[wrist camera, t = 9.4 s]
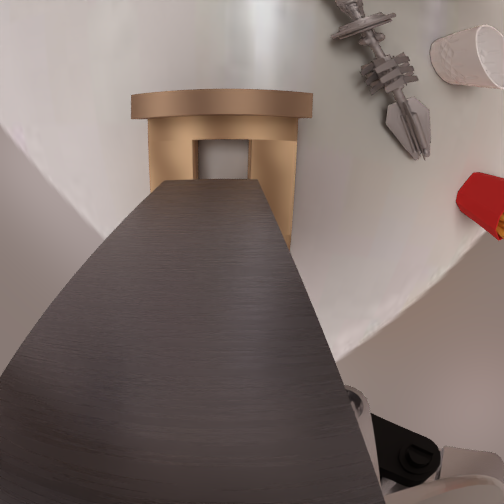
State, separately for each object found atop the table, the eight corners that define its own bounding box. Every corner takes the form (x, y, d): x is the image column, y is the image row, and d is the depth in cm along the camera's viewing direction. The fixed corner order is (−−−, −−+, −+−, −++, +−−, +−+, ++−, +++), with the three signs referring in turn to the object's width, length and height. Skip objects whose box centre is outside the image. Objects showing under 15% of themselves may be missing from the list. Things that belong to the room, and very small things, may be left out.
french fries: (459, 220, 37) (517, 257, 25) (449, 200, 35) (511, 235, 24) (490, 181, 34) (550, 207, 23) (481, 160, 33) (544, 183, 21)
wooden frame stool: (289, 101, 29) (312, 93, 20) (280, 252, 37) (296, 296, 28) (160, 101, 28) (131, 94, 19) (166, 252, 36) (147, 297, 27)
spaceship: (316, -105, 11) (263, -108, 10) (459, 145, 28) (435, 179, 27) (279, -75, 18) (229, -69, 17) (411, 142, 35) (382, 172, 33)
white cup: (436, 91, 29) (488, 91, 20) (418, 35, 26) (466, 22, 17) (472, 85, 28) (521, 88, 19) (456, 35, 25) (504, 27, 16)
